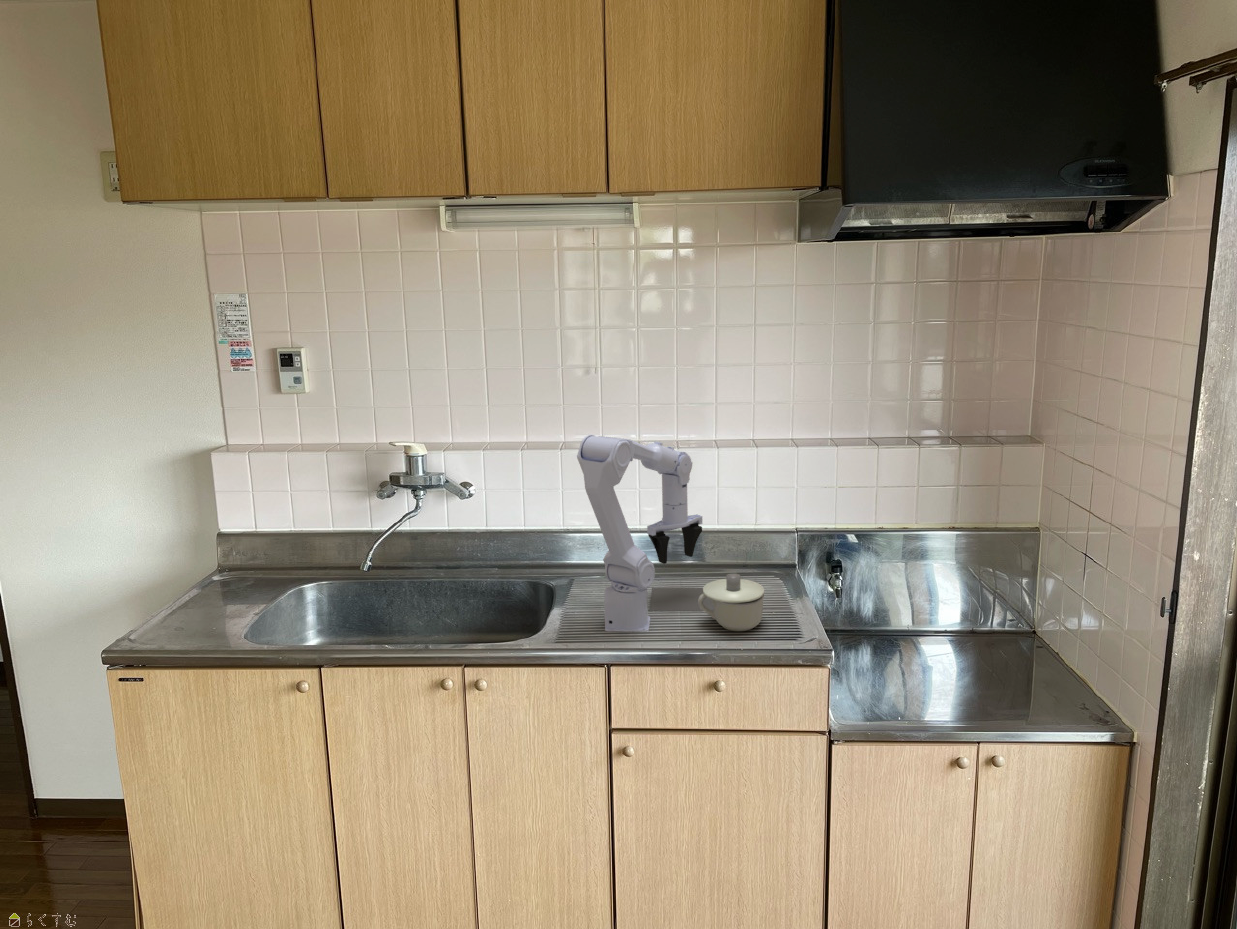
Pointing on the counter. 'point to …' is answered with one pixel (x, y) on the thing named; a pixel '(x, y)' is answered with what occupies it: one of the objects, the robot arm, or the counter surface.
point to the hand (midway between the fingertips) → (675, 559)
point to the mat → (678, 599)
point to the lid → (733, 589)
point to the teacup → (735, 613)
